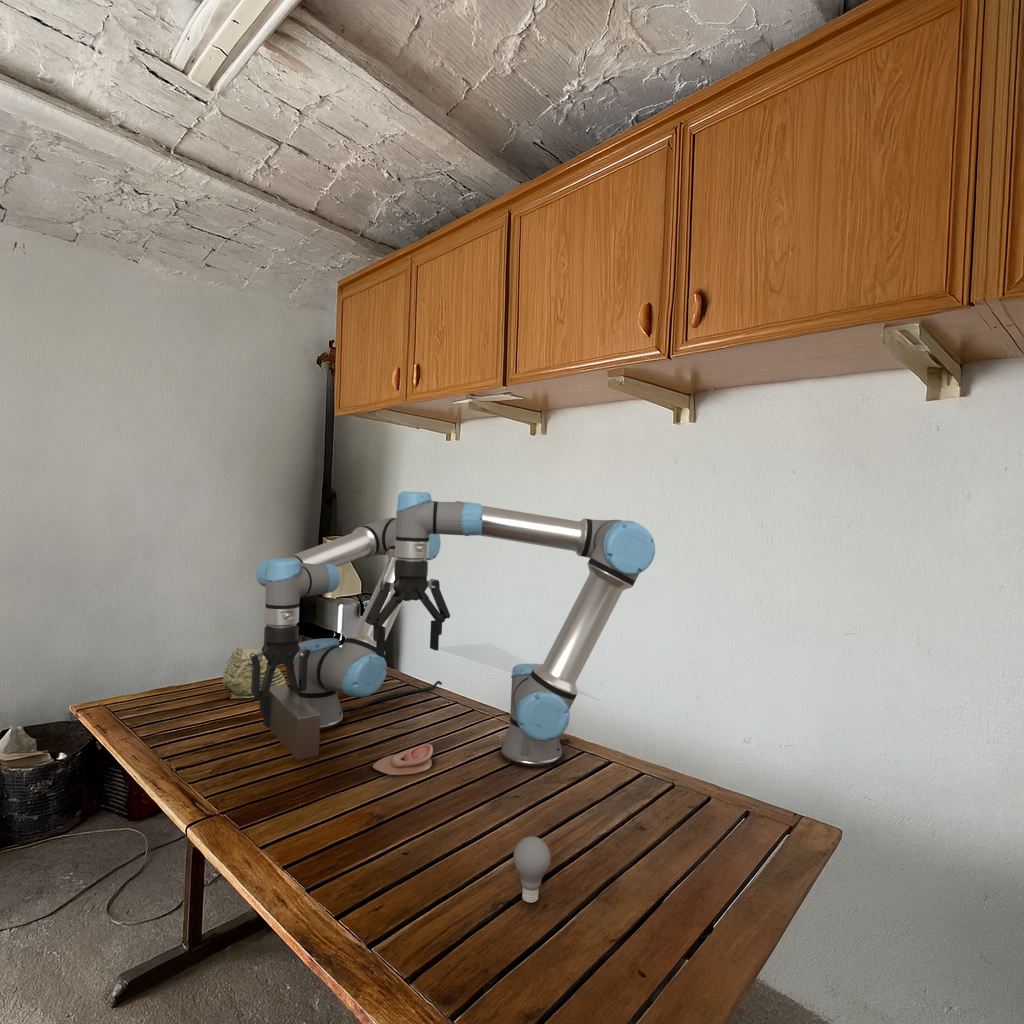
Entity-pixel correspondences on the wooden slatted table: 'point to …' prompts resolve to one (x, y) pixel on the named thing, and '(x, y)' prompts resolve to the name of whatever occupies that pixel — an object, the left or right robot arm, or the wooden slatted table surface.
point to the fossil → (246, 673)
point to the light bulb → (531, 865)
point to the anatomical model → (406, 761)
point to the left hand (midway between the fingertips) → (278, 723)
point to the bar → (294, 722)
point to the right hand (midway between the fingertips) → (407, 652)
